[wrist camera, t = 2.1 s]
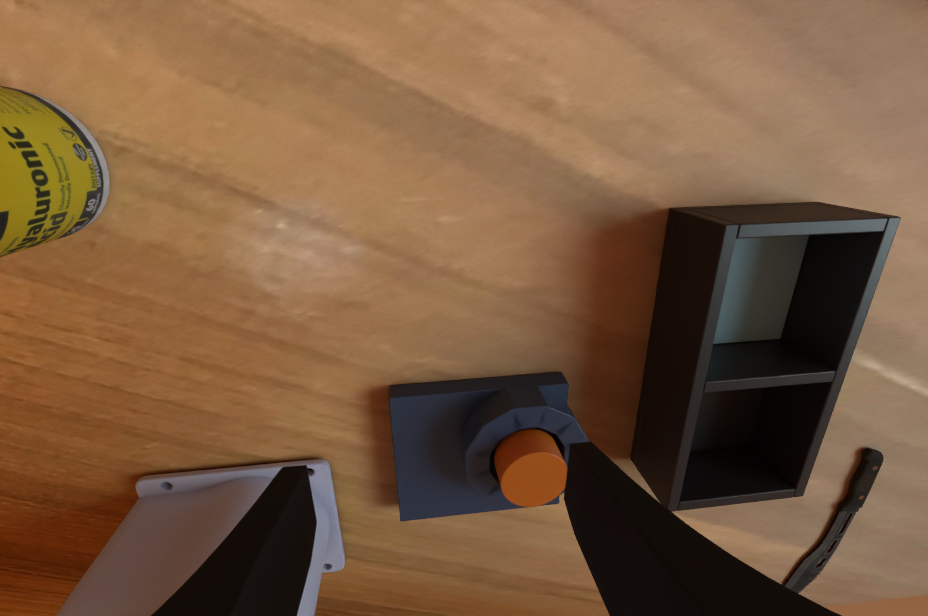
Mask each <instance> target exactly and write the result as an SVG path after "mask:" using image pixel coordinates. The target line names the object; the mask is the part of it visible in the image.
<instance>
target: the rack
mask: <svg viewBox="0 0 928 616" xmlns="http://www.w3.org/2000/svg"><path fill="white" fill-rule="evenodd" d="M900 219H901V218H900V217H898V216H893V215H887V214H882V213H876V212H870V211H865V210H859V209H854V208H848V207H843V206H837V205H832V204H825V203H821V202H805V203H780V204H755V205H730V206H705V207H680V208H670V209H669V215H668V222H667V228H666V235H665V241H664V248H663V254H662V260H661V267H660V273H659V280H658V286H657V293H656V299H655V305H654V312H653V318H652V325H651V331H650V338H649V344H648V350H647V357H646V363H645V370H644V376H643V383H642V389H641V395H640V402H639V408H638V415H637V421H636V428H635V434H634V441H633V447H632V453H631V461H632V462H633V464H635V466H636V468H637V469H638V471H639V472H640V474H641V475H642V477H643V478H644V480H645V481H646V483H647V484H648V485H649V487H650V488H651V490H652V491H653V493H654V494H655V496H656V497H657V499H658V500H659V502H660V503H661V504H662V505H663V506H664V507H665V508H667V509H668V510H669V511H670V512H672V511H677V510H678V511H681V510H689V509H698V508H706V507H715V506H723V505H732V504H740V503H749V502H757V501H766V500H774V499H783V498H791V497H800V496H803V494H804V491H805V489H806V486H807V483H808V480H809V477H810V474H811V472H812V469H813V466H814V463H815V460H816V457H817V455H818V452H819V449H820V446H821V443H822V440H823V437H824V435H825V432H826V429H827V426H828V423H829V420H830V418H831V415H832V412H833V409H834V406H835V403H836V401H837V398H838V395H839V392H840V389H841V386H842V384H843V381H844V378H845V375H846V372H847V369H848V366H849V364H850V361H851V358H852V355H853V352H854V349H855V347H856V344H857V341H858V338H859V335H860V332H861V330H862V327H863V324H864V321H865V318H866V315H867V313H868V310H869V307H870V304H871V301H872V298H873V295H874V293H875V290H876V287H877V284H878V281H879V278H880V276H881V273H882V270H883V267H884V264H885V261H886V259H887V256H888V253H889V250H890V247H891V244H892V241H893V239H894V236H895V233H896V230H897V227H898V224H899V222H900Z"/></svg>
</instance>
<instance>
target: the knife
mask: <svg viewBox="0 0 928 616" xmlns="http://www.w3.org/2000/svg"><path fill="white" fill-rule="evenodd" d="M862 456H863V457H864V460H863V462H862V464H861V466H860V468H859V470H858V472H857V474H856V475H855V477H854V479H853V481H852V483H851V486H850V493H849V495H848V497H847V499H846V500H845V501H843V502H842V503H841V504H840V505H839V507H838V510H839V511H840V512H839V514H838V517H837V519H836V520H835V522H834V524H833V526H832V528H831V530H830V531H829V533H828V535H827V537H826V538H825V540H824V541H823V543H822V544H821V545H820V547H819V548H818V549H817V550H815V551H814V552H813V553H812V554H811V555H810V556H809V557H807V558H806V559H805V560H804V561H803V563H802V564H801V565H800V566H799V568H798V569H797V570H796V572H795V573H794V574H793V576H792V577H791V578H790V580H789V581H788V582H787V584H786V585H785V587H786V588H788V589H790V590H792V591H794V592H796V593H799V592H801V591H802V590H803V589H804V588H805V587H806V586H807V585H809V583H811V582H812V581H813V580H814V579H815V578H816V577H817V576H818V575H819V574H820V572H821V571H822V570H823V568H824V567H825V566H826V564H827V562H828V561H829V559H830V558H831V556H832V555H833V553H834V552H835V550H836V549H837V547H838V545H839V544H840V541H841V539H842V538H843V536H844V534H845V532H846V530H847V528H848V527H849V525H850V523H851V521H852V519H853V517H854V516H855V514H856V512H858V510H859V508H861V507H862V506H863V504H864V502H865V500H866V498H867V496H868V494H869V491H870V489H871V487H872V485H873V483H874V481H875V478H876V476H877V474H878V472H879V469H880V467H881V465H882V462H883V455H882V453H881V452H879V451H877V450H874V449H870V448H867V449H866V450H865V451H864V453H863V454H862ZM830 546H831V547H830ZM828 549H829V550H828ZM821 560H822V561H821ZM820 561H821V562H820ZM819 562H820V563H819ZM818 563H819V564H818Z"/></svg>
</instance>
